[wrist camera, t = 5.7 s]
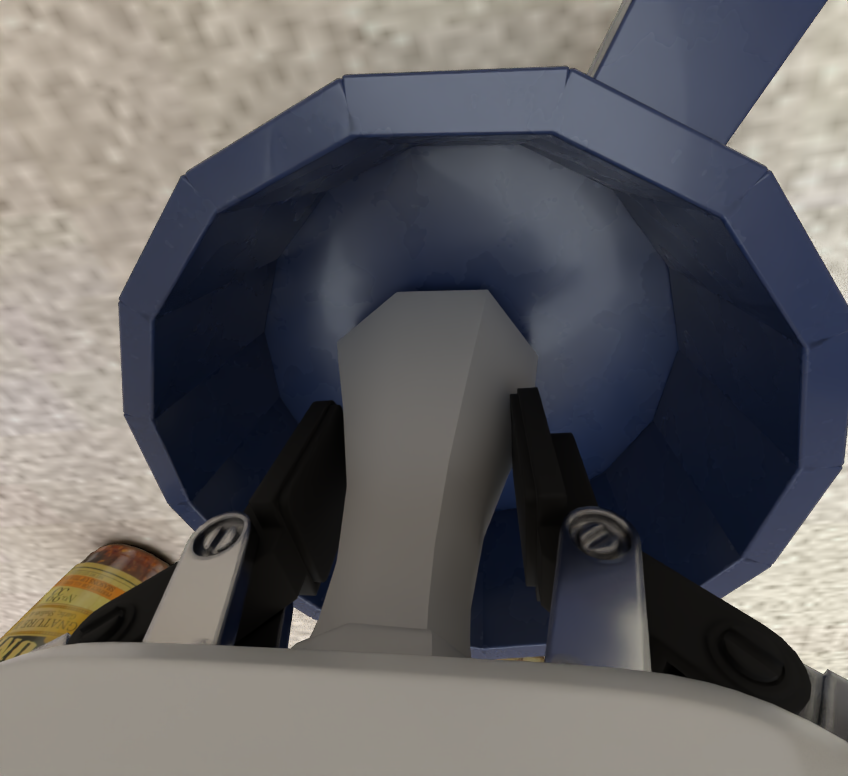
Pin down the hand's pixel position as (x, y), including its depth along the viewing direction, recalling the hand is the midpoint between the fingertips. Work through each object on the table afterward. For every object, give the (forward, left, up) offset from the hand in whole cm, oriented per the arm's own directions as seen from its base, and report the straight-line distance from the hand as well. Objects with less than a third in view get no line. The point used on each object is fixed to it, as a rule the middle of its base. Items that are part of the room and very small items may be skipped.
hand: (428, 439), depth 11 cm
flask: (0, 0, -4) cm, 4 cm away
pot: (+1, 0, -5) cm, 5 cm away
